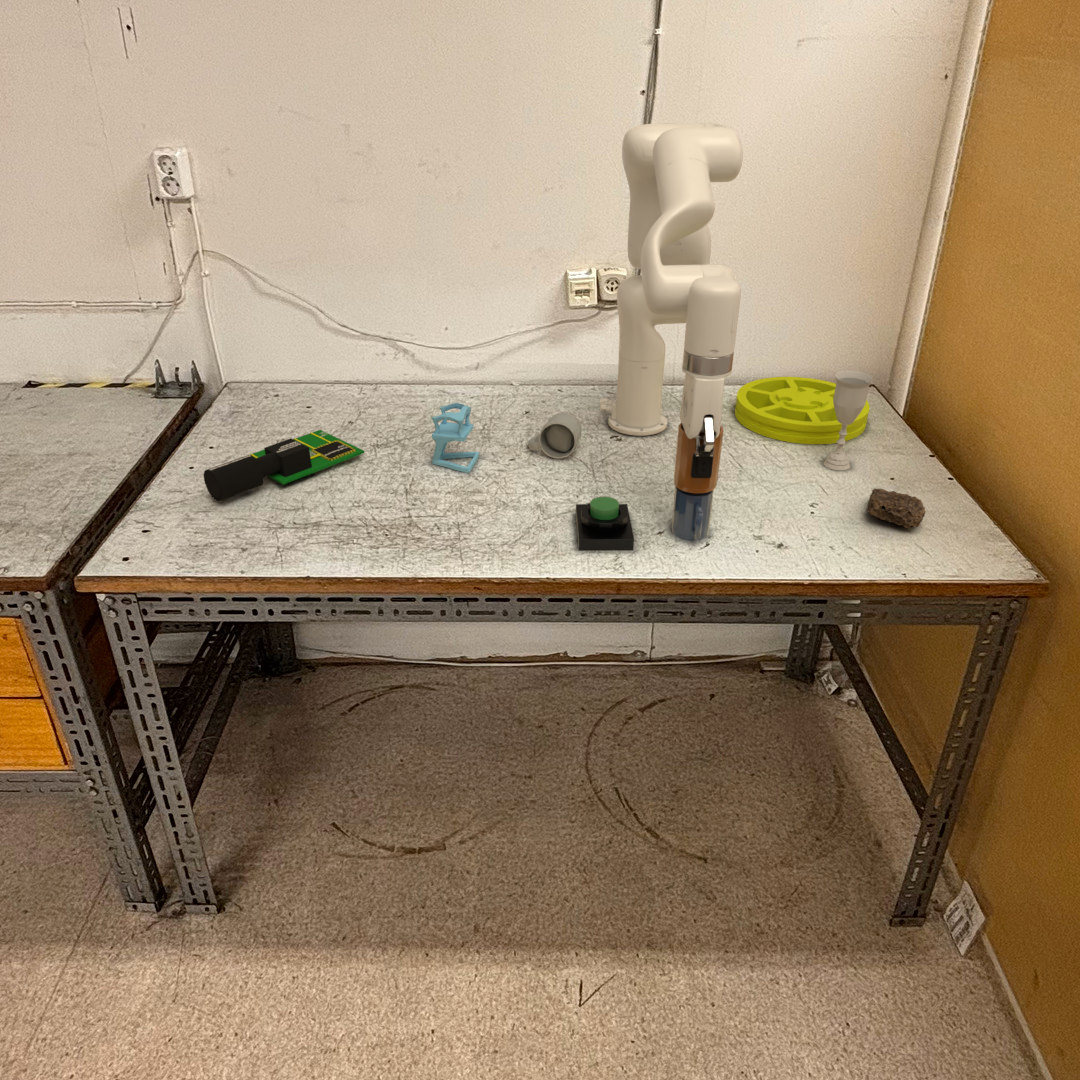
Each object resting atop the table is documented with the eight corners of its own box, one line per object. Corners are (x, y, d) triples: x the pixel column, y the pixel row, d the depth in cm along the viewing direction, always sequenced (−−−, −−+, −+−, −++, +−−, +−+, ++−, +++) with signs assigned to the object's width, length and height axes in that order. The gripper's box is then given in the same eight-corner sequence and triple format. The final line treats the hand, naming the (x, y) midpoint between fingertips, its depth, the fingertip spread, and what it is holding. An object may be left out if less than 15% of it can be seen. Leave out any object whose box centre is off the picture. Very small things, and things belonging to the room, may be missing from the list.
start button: (619, 520, 143) (620, 510, 142) (590, 521, 143) (591, 510, 142) (617, 506, 147) (617, 496, 146) (589, 507, 147) (589, 496, 146)
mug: (668, 523, 150) (672, 479, 145) (704, 522, 150) (709, 478, 146) (677, 550, 142) (682, 504, 138) (715, 549, 142) (720, 504, 138)
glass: (667, 487, 141) (672, 431, 136) (682, 470, 146) (687, 416, 141) (708, 497, 138) (715, 440, 133) (722, 479, 144) (728, 423, 138)
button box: (633, 550, 142) (634, 529, 140) (578, 551, 142) (579, 530, 140) (626, 514, 152) (627, 494, 150) (575, 515, 152) (576, 495, 150)
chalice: (856, 474, 166) (875, 385, 156) (820, 471, 167) (836, 382, 157) (852, 458, 172) (870, 371, 162) (817, 455, 173) (833, 369, 164)
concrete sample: (916, 540, 145) (923, 514, 142) (855, 524, 149) (860, 498, 147) (929, 511, 153) (936, 486, 150) (871, 497, 158) (877, 472, 155)
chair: (440, 452, 174) (436, 396, 168) (479, 456, 173) (477, 399, 166) (428, 469, 168) (423, 411, 161) (469, 473, 166) (466, 415, 160)
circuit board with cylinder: (316, 406, 177) (361, 426, 168) (321, 437, 180) (365, 458, 172) (179, 452, 158) (221, 477, 149) (187, 485, 162) (229, 512, 153)
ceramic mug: (583, 443, 177) (583, 408, 173) (575, 460, 171) (576, 424, 167) (532, 440, 179) (531, 405, 175) (523, 456, 173) (522, 421, 169)
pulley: (890, 439, 179) (895, 417, 177) (763, 448, 176) (766, 426, 173) (830, 390, 203) (834, 370, 200) (717, 397, 199) (719, 377, 196)
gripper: (675, 343, 139) (666, 443, 148) (692, 382, 124) (681, 491, 133) (721, 343, 139) (710, 443, 148) (744, 381, 124) (730, 491, 133)
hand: (696, 465), depth 141 cm, fingers closed on glass, 7 cm apart
